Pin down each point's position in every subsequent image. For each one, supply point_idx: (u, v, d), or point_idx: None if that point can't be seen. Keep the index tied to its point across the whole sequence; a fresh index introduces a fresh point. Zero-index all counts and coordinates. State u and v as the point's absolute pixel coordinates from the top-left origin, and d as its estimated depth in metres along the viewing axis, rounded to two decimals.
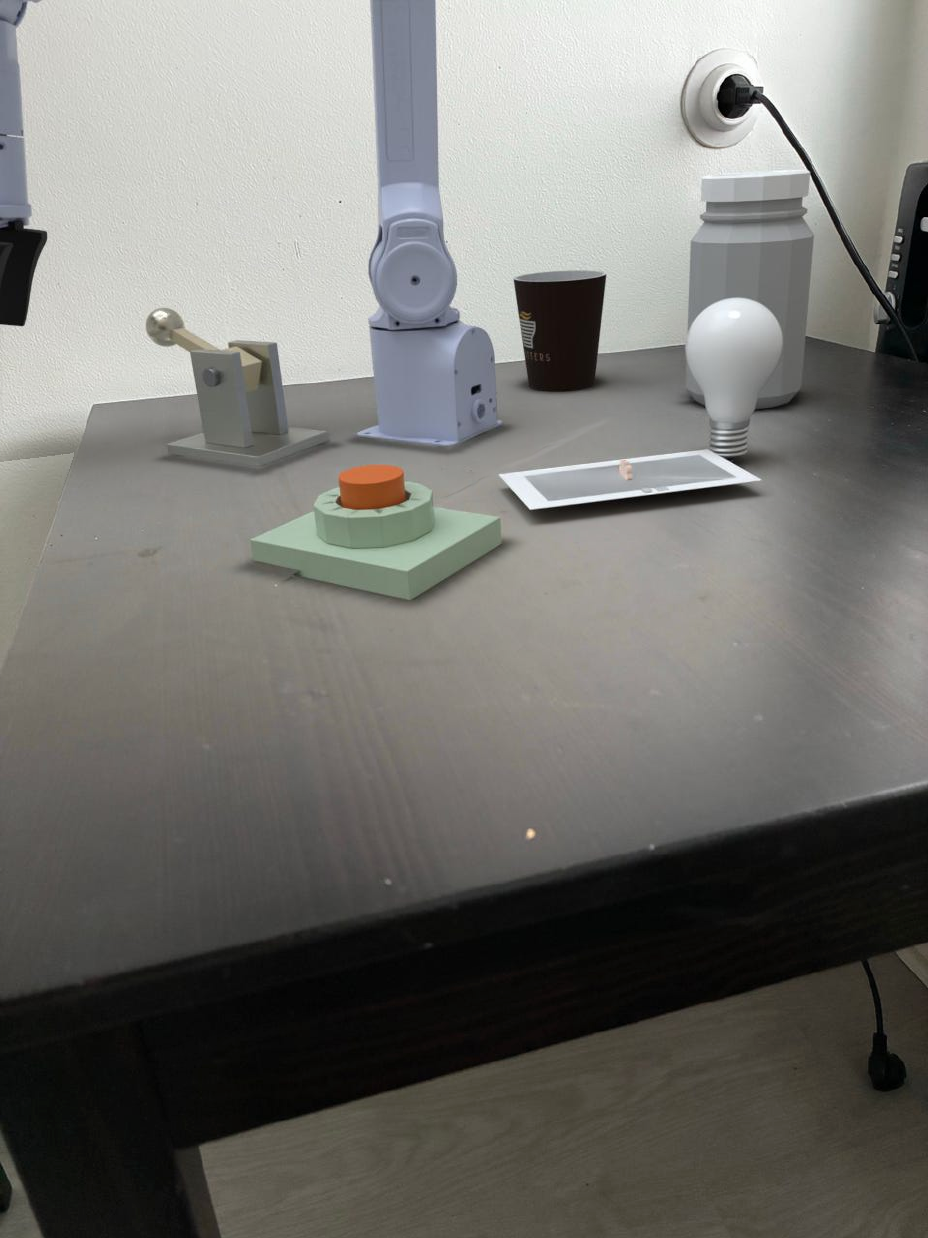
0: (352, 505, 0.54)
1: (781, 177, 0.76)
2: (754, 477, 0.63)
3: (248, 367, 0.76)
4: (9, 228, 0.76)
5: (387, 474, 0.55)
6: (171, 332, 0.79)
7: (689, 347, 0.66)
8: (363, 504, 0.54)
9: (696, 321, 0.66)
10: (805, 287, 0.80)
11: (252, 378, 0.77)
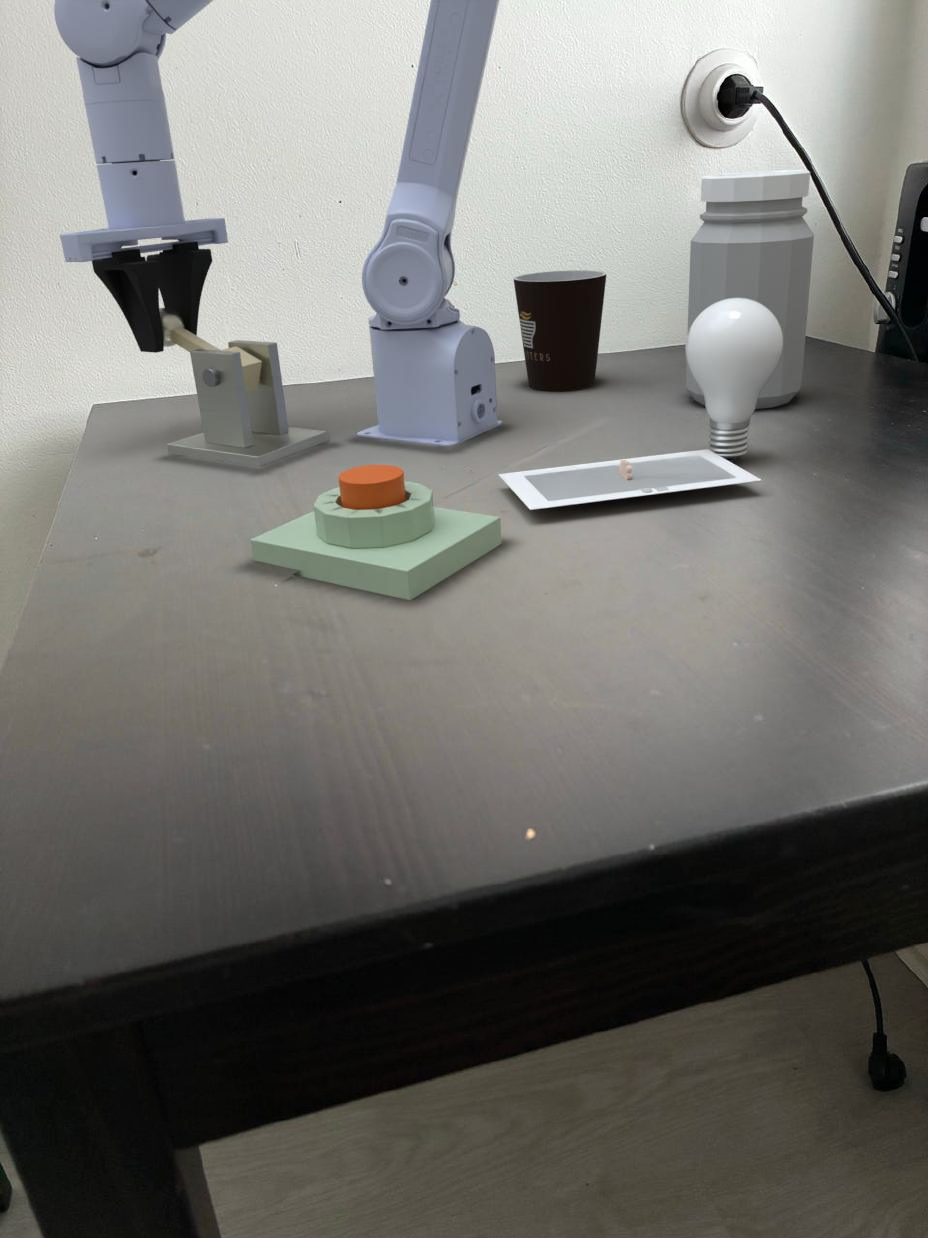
0: (352, 505, 0.54)
1: (781, 177, 0.76)
2: (754, 477, 0.63)
3: (248, 367, 0.76)
4: (173, 251, 0.79)
5: (387, 474, 0.55)
6: (171, 332, 0.79)
7: (690, 348, 0.66)
8: (363, 504, 0.54)
9: (696, 321, 0.66)
10: (805, 287, 0.80)
11: (252, 378, 0.77)
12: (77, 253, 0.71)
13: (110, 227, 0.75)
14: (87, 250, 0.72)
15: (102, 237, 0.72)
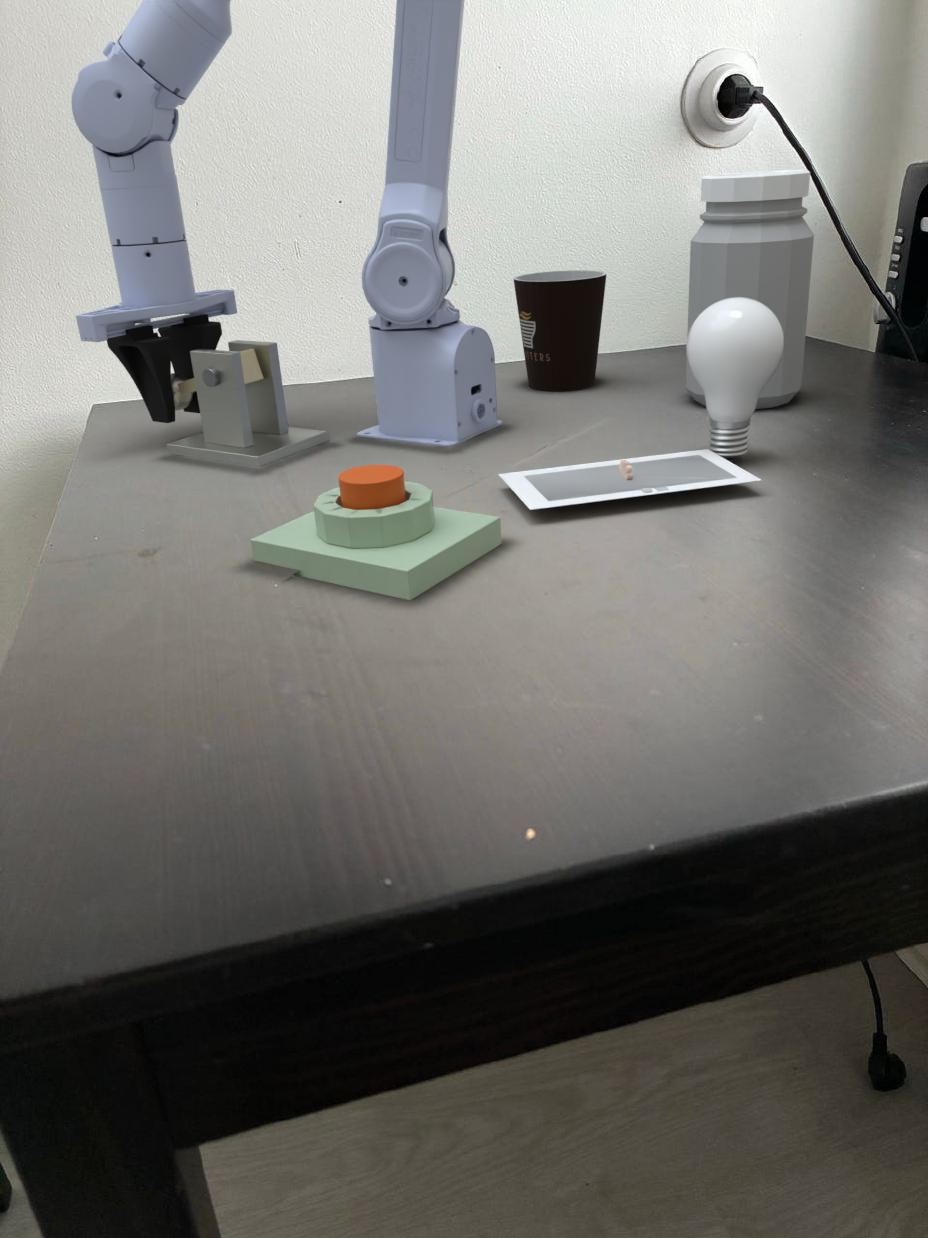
0: (352, 505, 0.54)
1: (781, 177, 0.76)
2: (754, 477, 0.63)
3: (241, 354, 0.76)
4: (184, 324, 0.81)
5: (387, 474, 0.55)
6: (178, 387, 0.81)
7: (691, 346, 0.66)
8: (363, 504, 0.54)
9: (697, 320, 0.66)
10: (805, 287, 0.80)
11: (251, 366, 0.76)
12: (92, 333, 0.74)
13: (124, 304, 0.78)
14: (102, 330, 0.74)
15: (116, 317, 0.74)
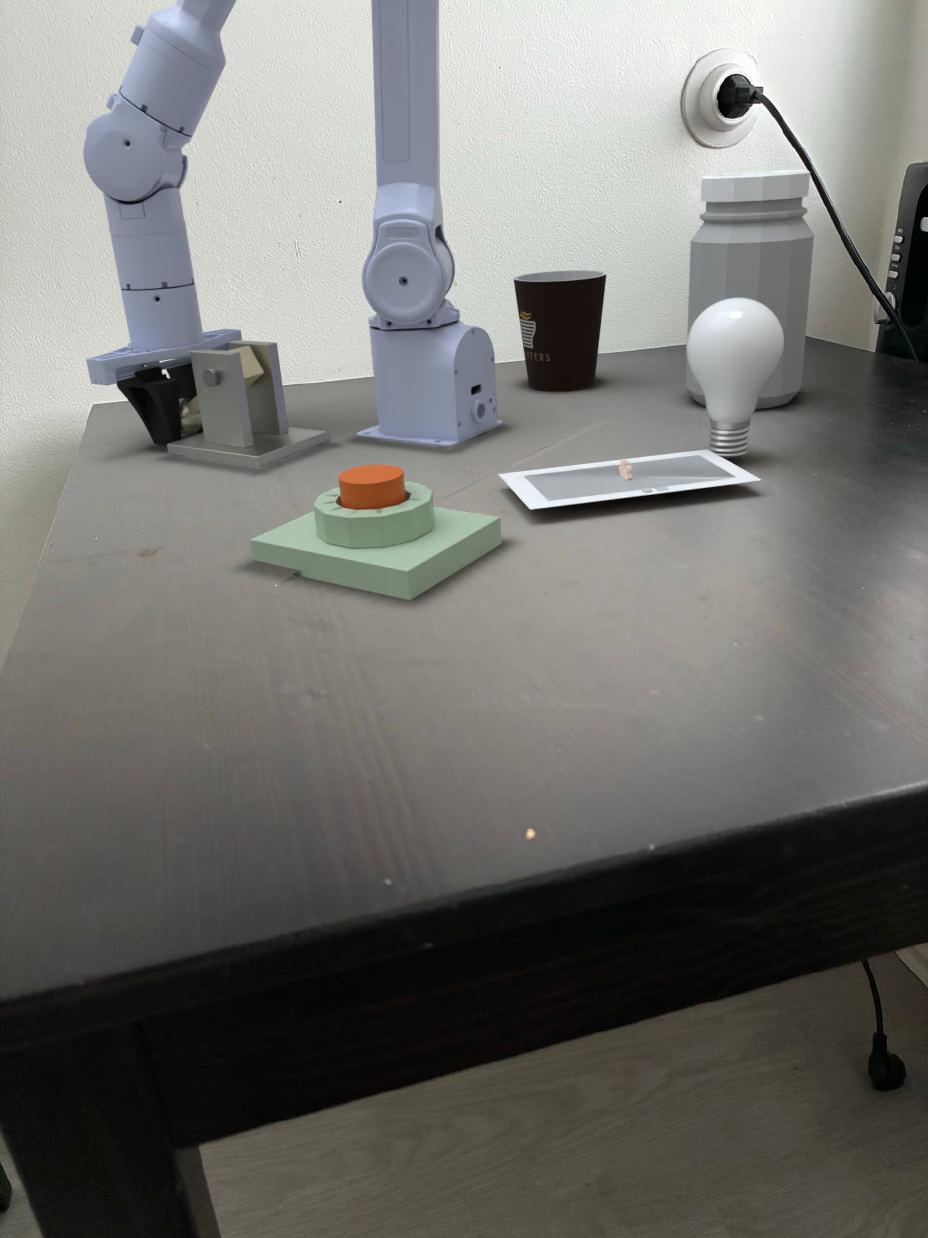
0: (352, 505, 0.54)
1: (781, 177, 0.76)
2: (754, 477, 0.63)
3: (236, 350, 0.76)
4: None
5: (387, 474, 0.55)
6: (187, 408, 0.81)
7: (691, 347, 0.66)
8: (363, 504, 0.54)
9: (697, 321, 0.66)
10: (805, 287, 0.80)
11: (249, 361, 0.76)
12: (102, 377, 0.75)
13: (133, 346, 0.79)
14: (112, 374, 0.75)
15: (126, 361, 0.76)
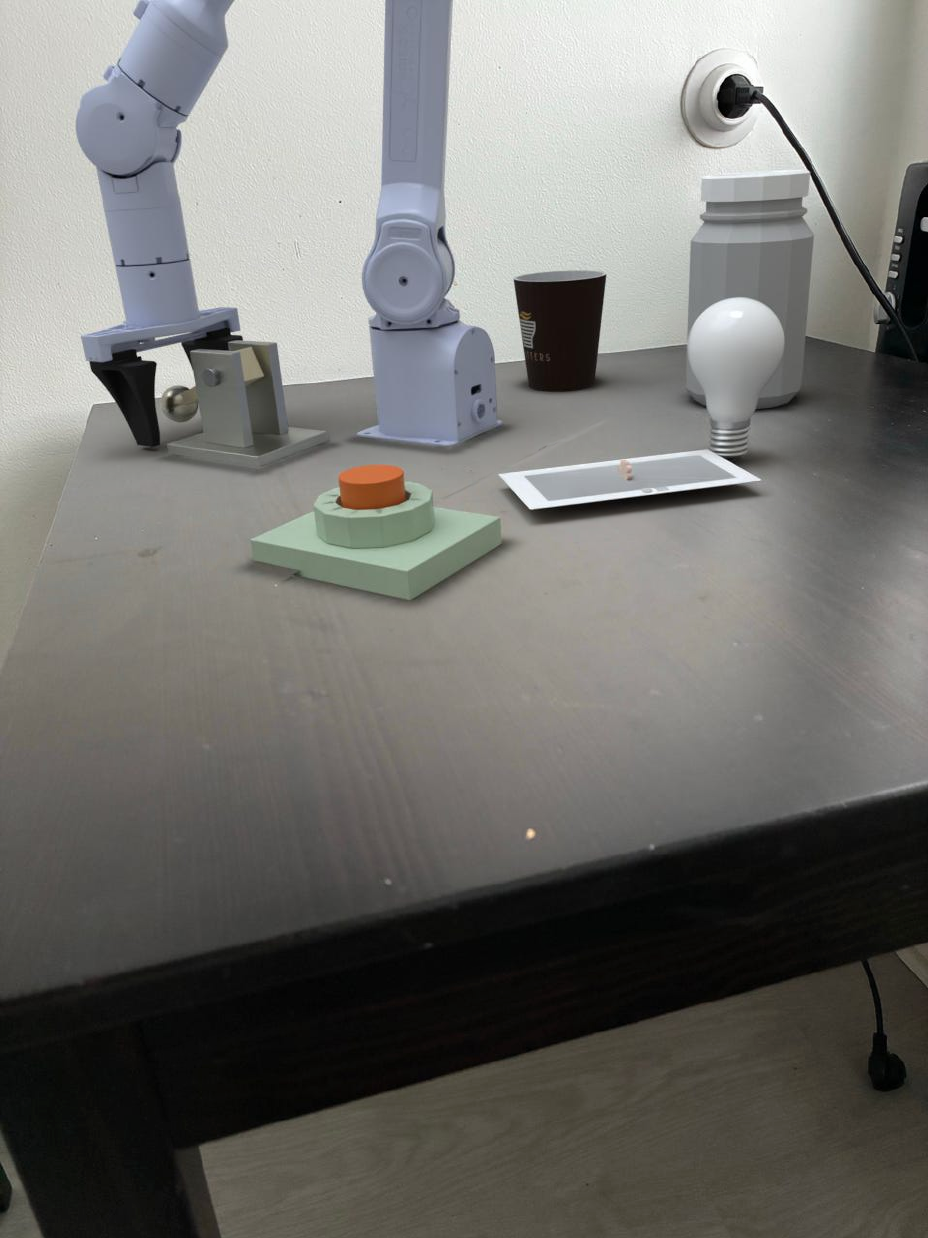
0: (352, 505, 0.54)
1: (781, 177, 0.76)
2: (754, 477, 0.63)
3: None
4: (207, 338, 0.83)
5: (387, 474, 0.55)
6: (182, 397, 0.81)
7: (692, 346, 0.66)
8: (363, 504, 0.54)
9: (698, 320, 0.66)
10: (805, 287, 0.80)
11: (250, 364, 0.76)
12: (97, 354, 0.74)
13: (128, 324, 0.78)
14: (107, 350, 0.75)
15: (121, 337, 0.75)
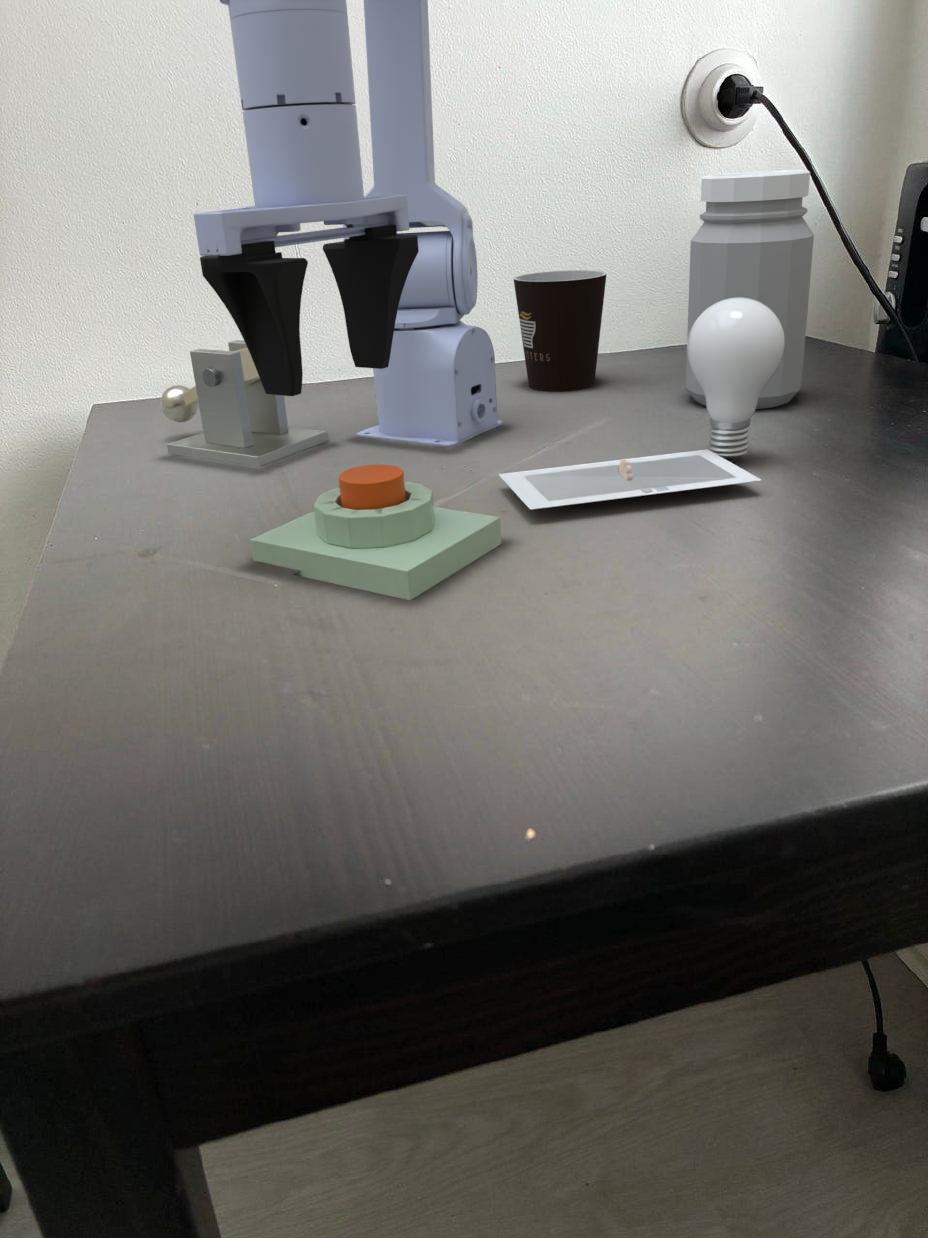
0: (352, 505, 0.54)
1: (781, 177, 0.76)
2: (754, 477, 0.63)
3: None
4: (366, 237, 0.56)
5: (387, 474, 0.55)
6: (182, 397, 0.81)
7: (692, 347, 0.66)
8: (363, 504, 0.54)
9: (698, 321, 0.66)
10: (805, 287, 0.80)
11: (250, 364, 0.76)
12: (220, 242, 0.47)
13: (259, 205, 0.51)
14: (235, 238, 0.47)
15: (256, 218, 0.48)
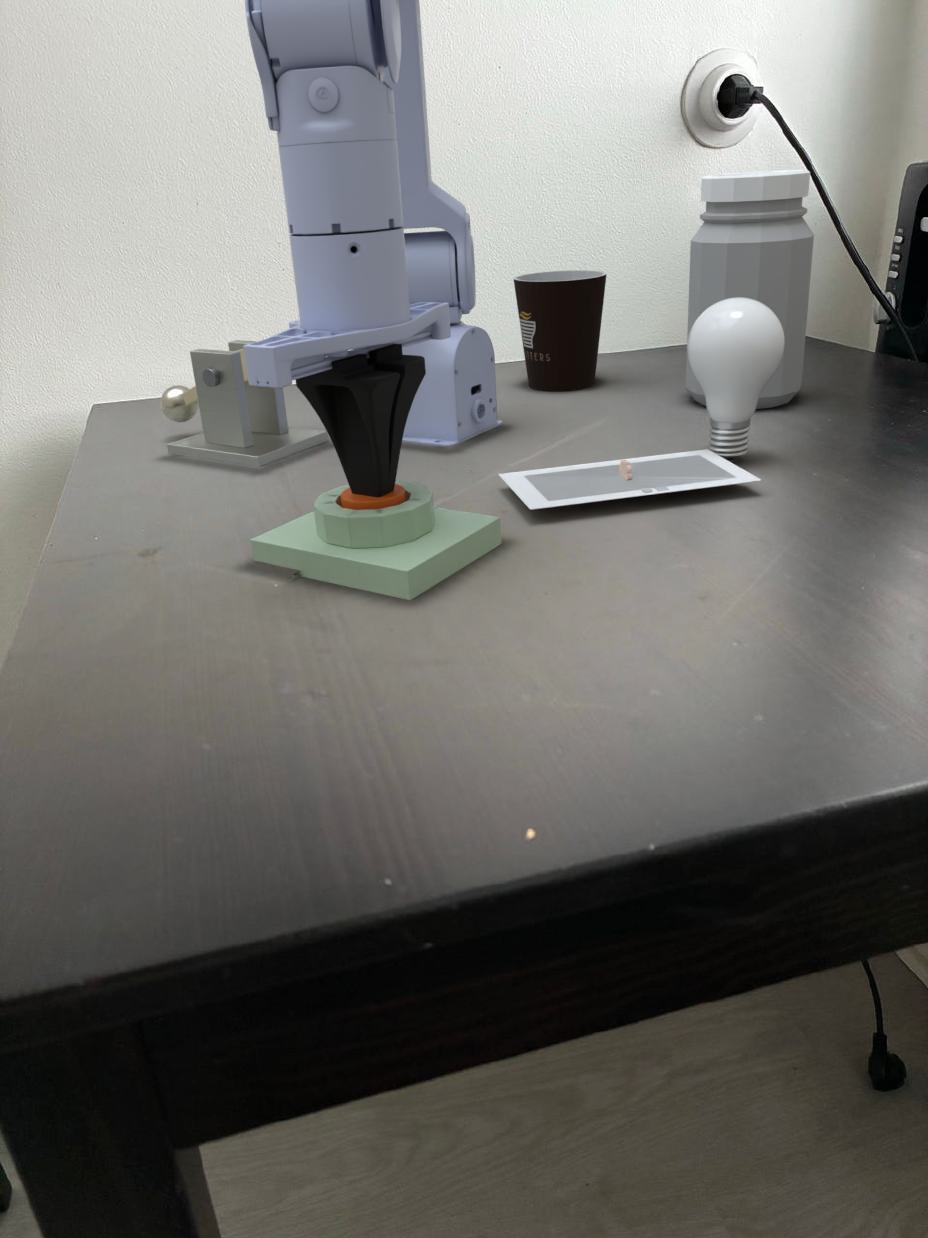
0: None
1: (781, 177, 0.76)
2: (754, 477, 0.63)
3: None
4: (370, 360, 0.52)
5: (389, 493, 0.55)
6: (182, 397, 0.81)
7: (692, 347, 0.66)
8: None
9: (698, 321, 0.66)
10: (805, 287, 0.80)
11: None
12: (271, 375, 0.46)
13: (306, 327, 0.50)
14: (286, 370, 0.47)
15: (307, 349, 0.47)
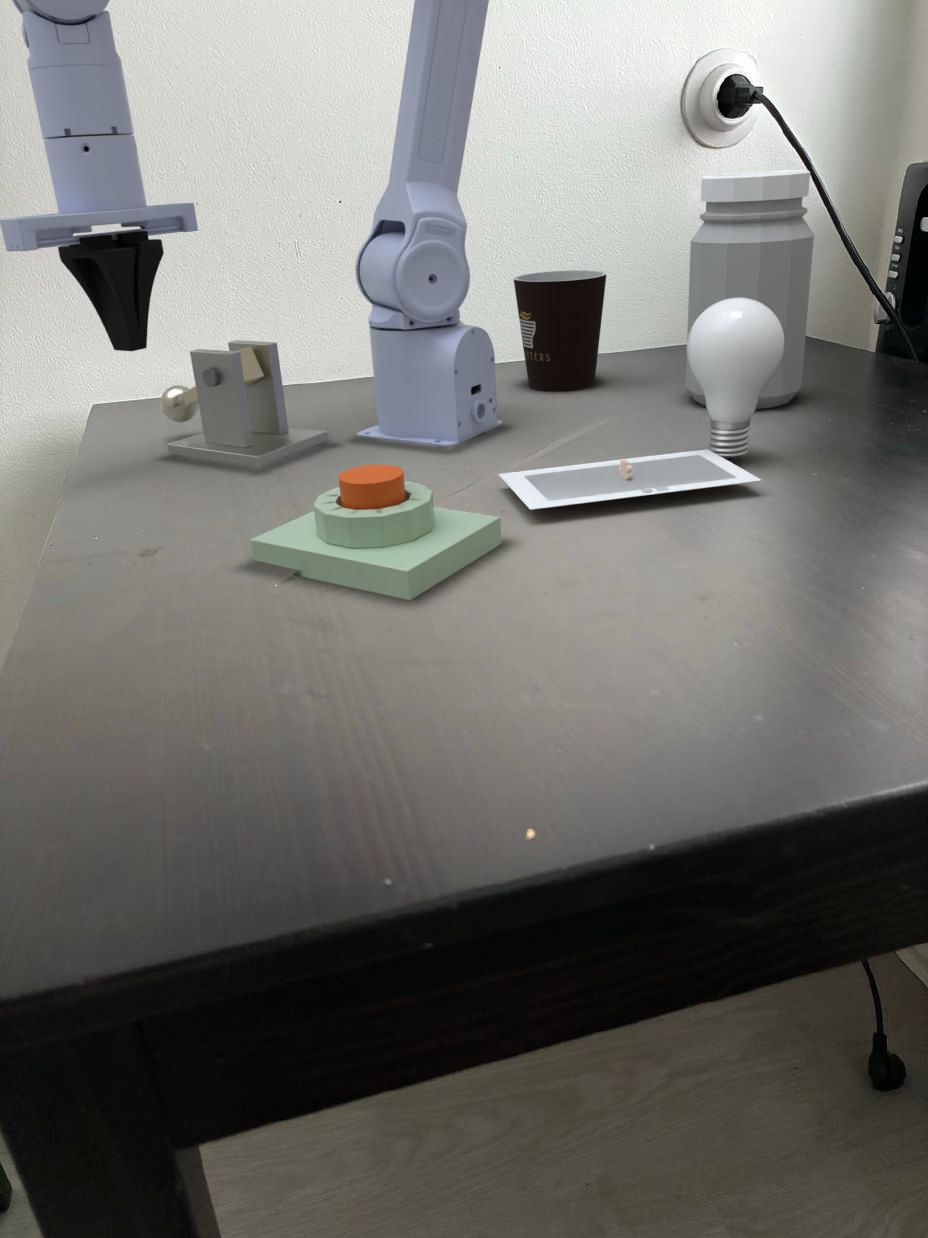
0: (352, 505, 0.54)
1: (781, 177, 0.76)
2: (754, 477, 0.63)
3: None
4: (118, 241, 0.68)
5: (387, 474, 0.55)
6: (182, 397, 0.81)
7: (692, 347, 0.66)
8: (363, 504, 0.54)
9: (698, 321, 0.66)
10: (805, 287, 0.80)
11: (250, 364, 0.76)
12: (19, 241, 0.62)
13: (60, 212, 0.66)
14: (31, 237, 0.62)
15: (48, 222, 0.63)
